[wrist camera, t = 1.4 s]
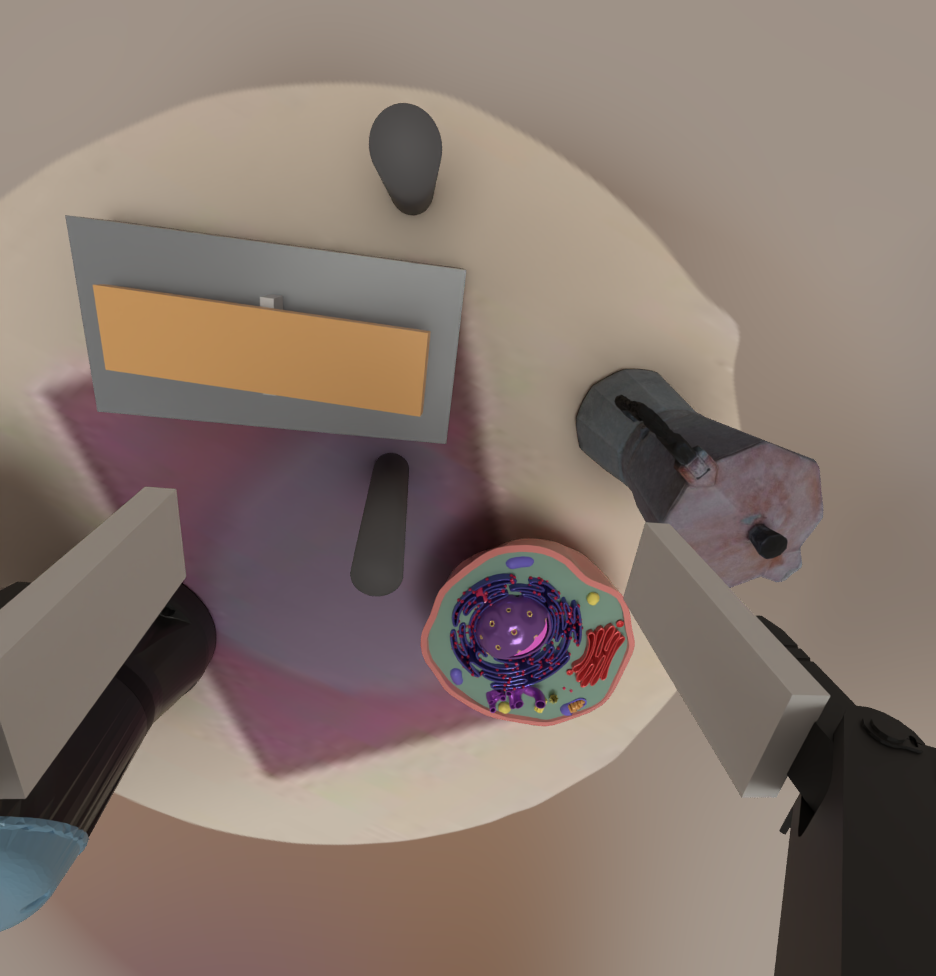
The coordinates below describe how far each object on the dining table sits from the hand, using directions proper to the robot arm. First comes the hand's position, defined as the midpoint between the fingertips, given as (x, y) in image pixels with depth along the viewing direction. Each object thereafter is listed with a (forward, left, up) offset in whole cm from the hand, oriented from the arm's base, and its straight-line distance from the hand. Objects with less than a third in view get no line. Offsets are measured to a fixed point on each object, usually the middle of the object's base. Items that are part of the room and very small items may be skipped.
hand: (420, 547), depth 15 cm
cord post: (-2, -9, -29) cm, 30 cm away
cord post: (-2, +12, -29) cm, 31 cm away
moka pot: (+17, -3, -29) cm, 34 cm away
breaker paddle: (-10, +1, -20) cm, 22 cm away
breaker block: (-10, +1, -29) cm, 30 cm away
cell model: (+11, -21, -29) cm, 37 cm away
